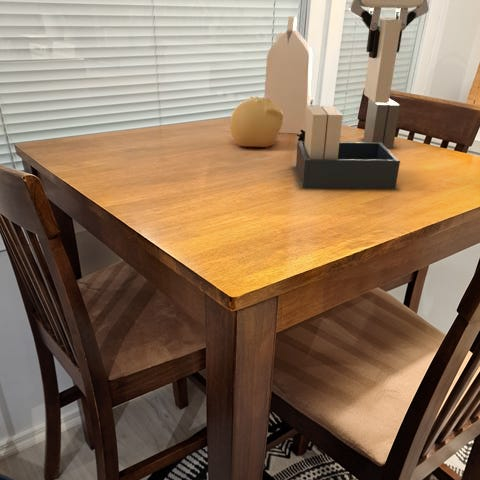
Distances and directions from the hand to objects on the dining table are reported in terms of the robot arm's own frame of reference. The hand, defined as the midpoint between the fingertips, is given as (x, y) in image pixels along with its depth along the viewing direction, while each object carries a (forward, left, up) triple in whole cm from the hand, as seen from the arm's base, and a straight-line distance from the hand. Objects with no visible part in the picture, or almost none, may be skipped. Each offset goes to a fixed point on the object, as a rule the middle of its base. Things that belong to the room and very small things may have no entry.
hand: (381, 56), depth 84 cm
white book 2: (+8, +1, -20) cm, 22 cm away
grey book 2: (-10, -28, -21) cm, 36 cm away
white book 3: (0, 0, -7) cm, 7 cm away
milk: (+11, -48, -21) cm, 53 cm away
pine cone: (+5, -28, -21) cm, 36 cm away
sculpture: (+20, -27, -21) cm, 40 cm away
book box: (+4, 0, -21) cm, 22 cm away
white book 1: (+10, +1, -20) cm, 23 cm away
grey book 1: (-8, -28, -21) cm, 36 cm away
